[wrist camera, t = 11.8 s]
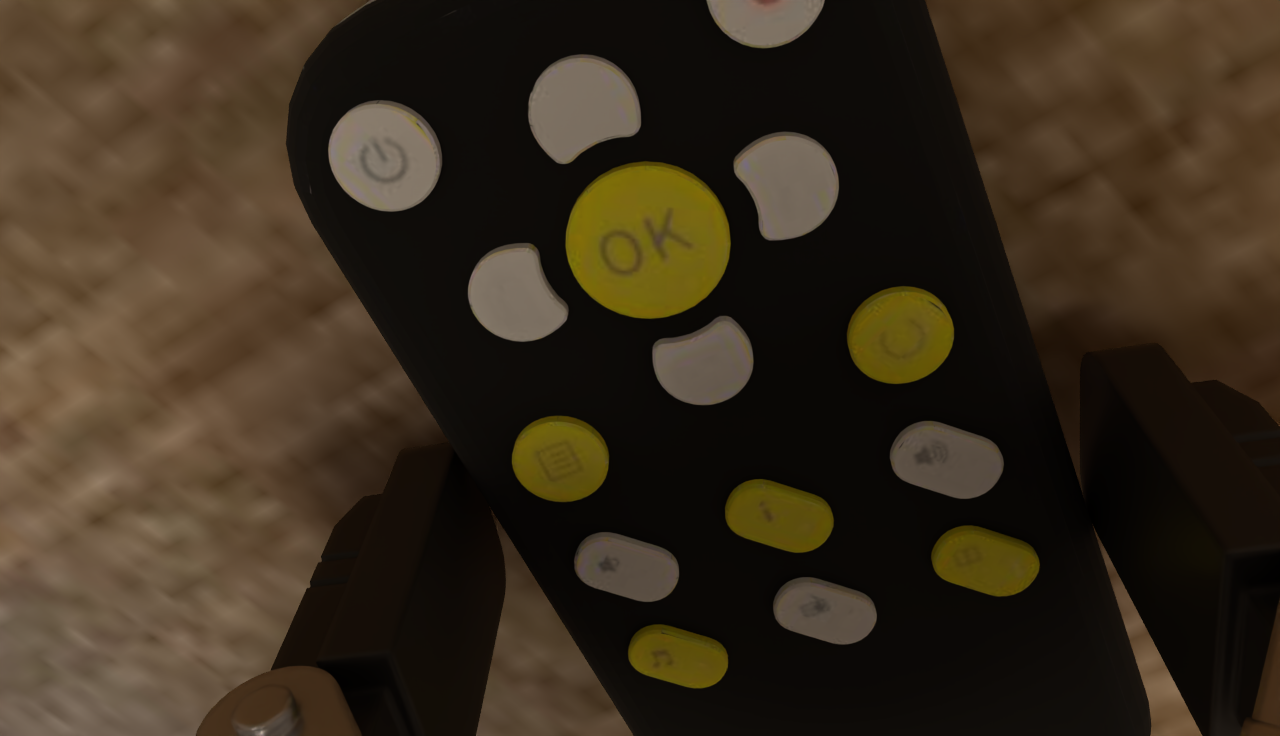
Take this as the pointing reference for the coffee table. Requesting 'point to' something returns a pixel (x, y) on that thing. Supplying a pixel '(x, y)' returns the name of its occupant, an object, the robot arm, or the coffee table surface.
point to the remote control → (726, 355)
